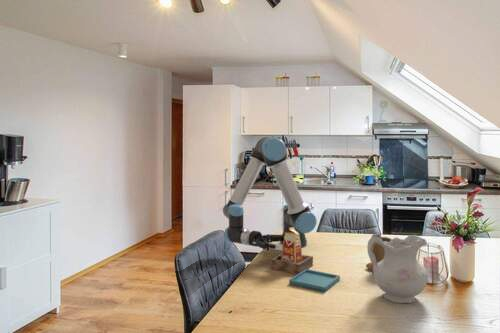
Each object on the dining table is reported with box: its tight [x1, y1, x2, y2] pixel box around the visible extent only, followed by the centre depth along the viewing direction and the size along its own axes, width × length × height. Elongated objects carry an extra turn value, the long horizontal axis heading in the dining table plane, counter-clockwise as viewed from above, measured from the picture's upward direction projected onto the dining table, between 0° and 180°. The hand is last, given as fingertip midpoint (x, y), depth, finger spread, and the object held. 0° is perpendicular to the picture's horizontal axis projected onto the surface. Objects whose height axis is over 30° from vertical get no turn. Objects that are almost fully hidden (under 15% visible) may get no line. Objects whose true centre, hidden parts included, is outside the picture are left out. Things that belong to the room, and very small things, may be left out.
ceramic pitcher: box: [367, 233, 429, 304], centre depth 155 cm, size 22×20×25 cm
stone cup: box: [365, 236, 393, 271], centre depth 188 cm, size 15×12×15 cm
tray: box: [288, 268, 341, 293], centre depth 173 cm, size 16×16×2 cm
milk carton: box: [281, 227, 303, 263], centre depth 191 cm, size 9×9×20 cm
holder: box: [270, 253, 314, 275], centre depth 192 cm, size 14×14×4 cm
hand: (289, 244), depth 192 cm, fingers open, 13 cm apart
